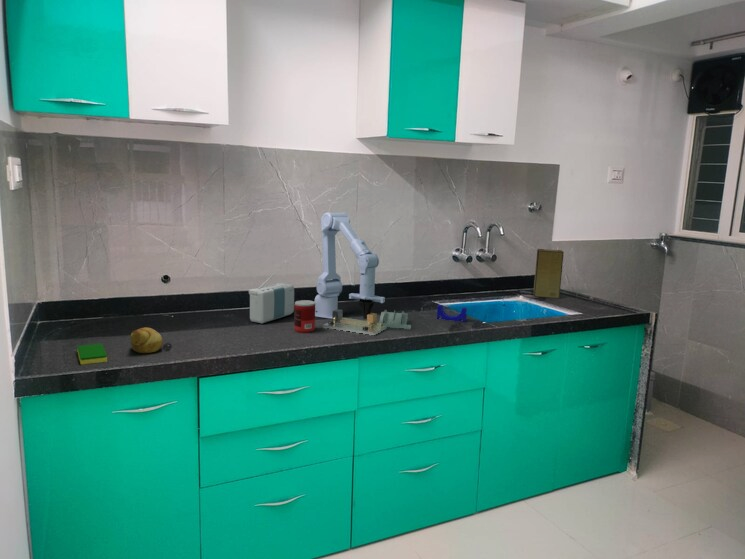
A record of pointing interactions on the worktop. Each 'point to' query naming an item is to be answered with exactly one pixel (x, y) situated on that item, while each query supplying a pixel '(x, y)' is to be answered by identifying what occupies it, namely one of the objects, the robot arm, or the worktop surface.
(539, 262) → the food packaging
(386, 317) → the metal bracket
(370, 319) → the block
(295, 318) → the canned food
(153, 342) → the bread roll
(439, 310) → the cable clip
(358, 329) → the plate
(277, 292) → the stereo radio cassette player
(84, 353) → the dish sponge
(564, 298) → the worktop surface
